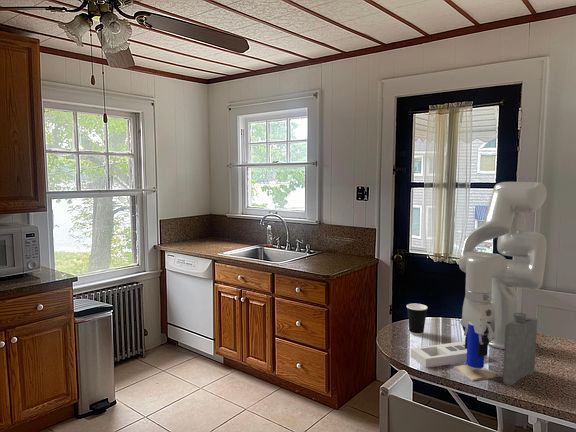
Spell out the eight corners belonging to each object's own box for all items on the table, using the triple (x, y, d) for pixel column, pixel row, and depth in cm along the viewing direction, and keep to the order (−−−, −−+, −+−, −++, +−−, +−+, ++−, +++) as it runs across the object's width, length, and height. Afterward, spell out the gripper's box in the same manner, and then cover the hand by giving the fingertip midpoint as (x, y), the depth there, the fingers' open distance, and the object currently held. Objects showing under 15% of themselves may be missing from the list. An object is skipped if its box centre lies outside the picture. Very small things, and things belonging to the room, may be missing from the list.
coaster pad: (477, 364, 146) (477, 363, 146) (496, 377, 138) (497, 375, 137) (453, 368, 144) (453, 366, 144) (472, 380, 135) (472, 379, 135)
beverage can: (485, 370, 137) (487, 323, 136) (468, 369, 138) (470, 322, 137) (481, 363, 142) (483, 318, 141) (464, 362, 143) (466, 317, 142)
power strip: (469, 348, 159) (469, 339, 159) (486, 358, 151) (487, 348, 150) (410, 356, 153) (410, 346, 152) (425, 367, 144) (425, 357, 144)
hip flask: (511, 386, 132) (514, 321, 130) (497, 381, 135) (500, 317, 133) (536, 371, 141) (539, 310, 139) (523, 367, 144) (526, 307, 142)
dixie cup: (403, 329, 178) (404, 303, 177) (423, 330, 178) (424, 303, 177) (408, 337, 170) (409, 309, 169) (429, 337, 170) (430, 309, 169)
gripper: (508, 302, 131) (505, 361, 133) (469, 288, 147) (467, 340, 149) (487, 305, 129) (484, 364, 131) (450, 289, 145) (448, 343, 147)
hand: (475, 351), depth 140 cm, fingers closed on beverage can, 5 cm apart
